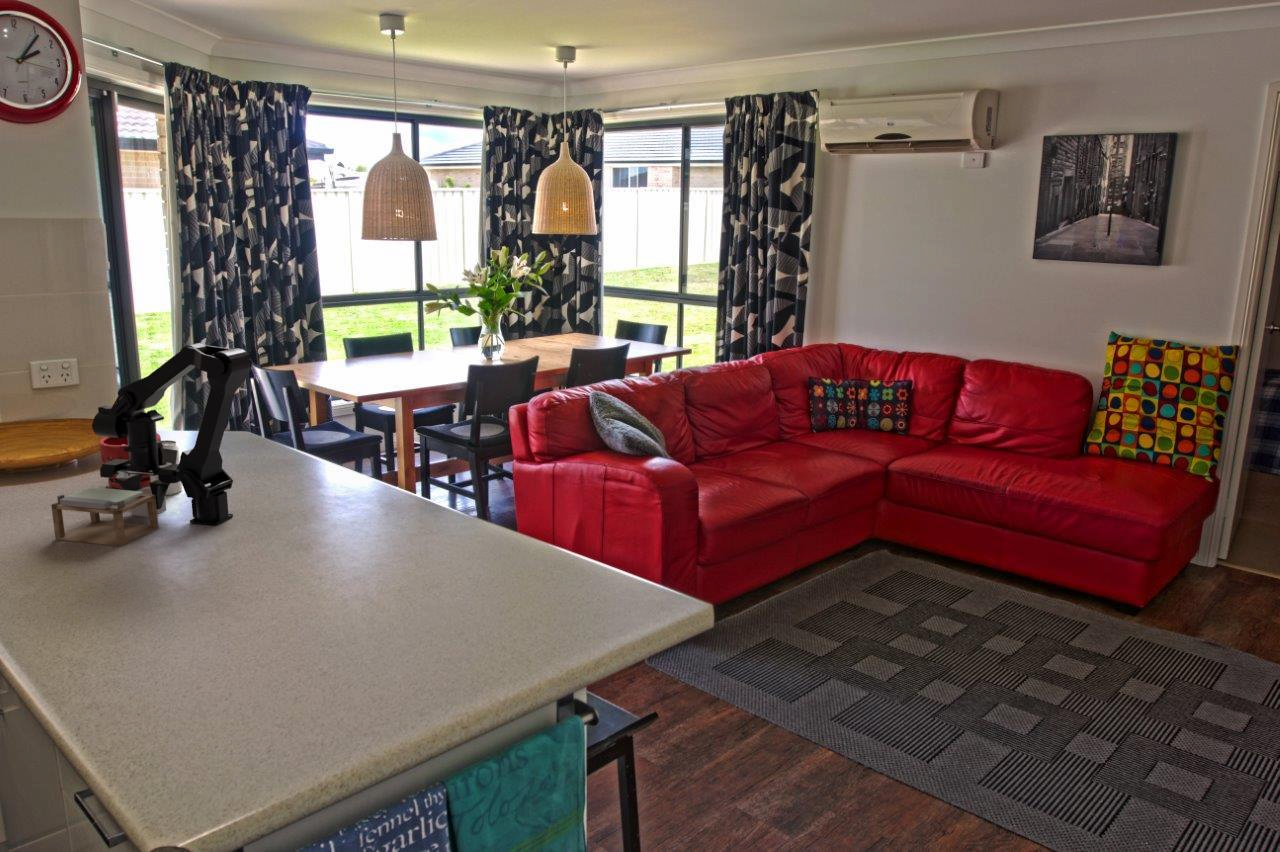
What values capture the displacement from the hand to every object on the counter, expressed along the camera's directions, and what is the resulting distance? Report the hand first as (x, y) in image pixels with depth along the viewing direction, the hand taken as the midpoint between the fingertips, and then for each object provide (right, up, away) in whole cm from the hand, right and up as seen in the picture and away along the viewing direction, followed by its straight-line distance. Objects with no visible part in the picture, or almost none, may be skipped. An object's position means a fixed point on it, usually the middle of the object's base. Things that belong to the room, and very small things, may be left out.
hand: (149, 508), depth 209 cm
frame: (-2, -4, -13) cm, 14 cm away
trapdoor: (-2, +3, -16) cm, 17 cm away
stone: (0, -1, 0) cm, 1 cm away
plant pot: (-14, +4, +20) cm, 24 cm away
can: (-3, +2, +15) cm, 15 cm away
